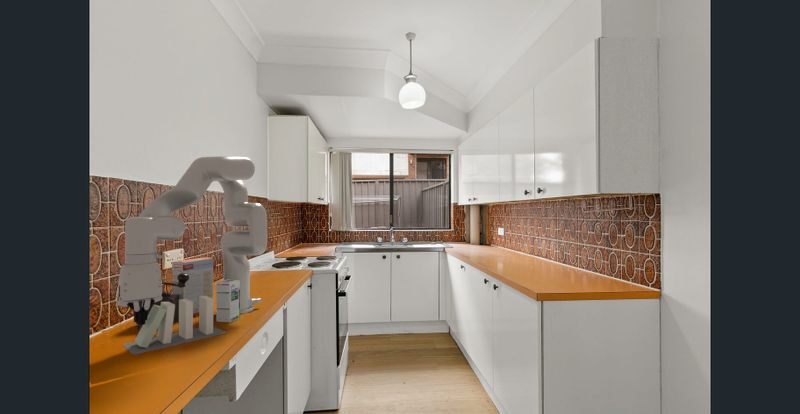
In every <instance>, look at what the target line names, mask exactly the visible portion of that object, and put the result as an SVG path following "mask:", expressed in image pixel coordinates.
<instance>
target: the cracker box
mask: <svg viewBox="0 0 800 414" xmlns="http://www.w3.org/2000/svg"><path fill="white" fill-rule="evenodd" d="M171 265H172V266H171V267H172V269H171V271H172V272H171V275H172V277H171V279H172V280H171V283H175V284H178V279H177V276H178V275H179V274H181V273H186V274H188V275H189V280H188V281H187V282H186V283H185V285H186V286H185V287H182V288H180V287H177V286H171V288H172V292H171V294H179V300H181V299H188V300H190V301H193V317H195V316H199V297H200V296H208V297H211V298H213V299H214V258H213V257H197V258H189V259H182V260H177V261H176V260H175V261H172V262H171Z"/></svg>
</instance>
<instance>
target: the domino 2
mask: <svg viewBox="0 0 800 414" xmlns="http://www.w3.org/2000/svg"><path fill="white" fill-rule="evenodd" d="M161 307H163V308H165V309H166V310H167V311H166V313H165V315H164V317H163V319H162V321H161V323H160V325H159V326H158V328H157V332H156V333H157V335H156V337H157V340H159V341H160V342H161V343H163V344H166V343H171V337H172V334H173V327H174V324H173V319H174V310H175V305H174V304H172V303H170V302H161Z"/></svg>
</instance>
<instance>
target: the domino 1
mask: <svg viewBox="0 0 800 414" xmlns="http://www.w3.org/2000/svg"><path fill="white" fill-rule="evenodd" d="M166 311H167V310H166V309H165V308H163V307H161V306H157V305H153V307H152V309H151V311H150V313H149V314H148V316H147V320H146V321H145V324H144V325H143V326H142V328H140V330H139V332H138V334H137V336H136V337H135V339H134V341H133V342H135V343H136V344H138V345H139V346H140V347H145V348H148V346H149V344H150V342H151V340H152V338H154V336H155V334H156V333H157V331H158V326H159V325H160V323H161V321H162V319H163V317H164V315H165V313H166Z"/></svg>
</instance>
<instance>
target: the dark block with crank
mask: <svg viewBox="0 0 800 414" xmlns="http://www.w3.org/2000/svg"><path fill="white" fill-rule="evenodd" d="M162 277H163V276H161V278H162ZM162 279H163V278H162ZM177 279H178V284H175V283H172V282H167V281H166V282H165V281H162V285H164V286H171V287H172V286H177V287H180V288H182V287H185V286H186V285H185V283H186V282H187V281H188V280H189V275H188V274H186V273H181V274H179V275H178V276H177ZM162 298H163V299H162V300H160V301H158V302H155V303H153V304H152V305H151V306H150V307H149V309H148V312H147V316H148V314H149V313H150V311H151V309H152V307H153V305H157V306H161V302H170V303H172V304H174V305H175V310H174V319H173V325H174V324H176V323H177V322H179V294H172V293H169V292H166V291H162ZM138 303H139V308H140V309H141V307H142V303H143V300H138ZM136 325H137V324H136ZM142 326H143V324H141V325H137V330H139V329H140V330H141V328H142Z"/></svg>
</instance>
